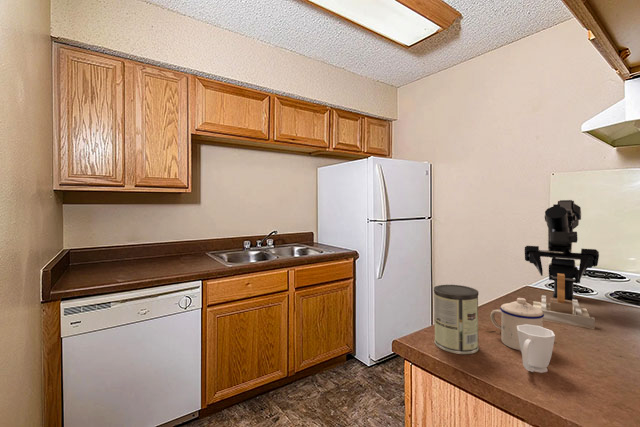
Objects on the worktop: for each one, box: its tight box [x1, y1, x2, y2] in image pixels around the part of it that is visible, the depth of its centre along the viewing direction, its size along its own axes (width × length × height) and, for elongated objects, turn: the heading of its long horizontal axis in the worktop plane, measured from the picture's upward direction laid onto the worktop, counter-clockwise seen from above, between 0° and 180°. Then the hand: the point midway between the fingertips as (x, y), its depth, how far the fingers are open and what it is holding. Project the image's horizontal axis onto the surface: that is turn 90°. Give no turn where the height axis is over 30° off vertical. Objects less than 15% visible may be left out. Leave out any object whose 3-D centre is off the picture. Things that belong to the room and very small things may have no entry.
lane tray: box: [532, 295, 596, 330], centre depth 94 cm, size 20×14×4 cm
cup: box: [517, 324, 556, 374], centre depth 64 cm, size 7×10×8 cm
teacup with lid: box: [489, 297, 544, 352], centre depth 77 cm, size 12×9×12 cm
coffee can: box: [433, 284, 480, 355], centre depth 76 cm, size 10×10×14 cm
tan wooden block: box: [549, 273, 573, 314], centre depth 89 cm, size 5×5×13 cm
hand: (560, 276), depth 94 cm, fingers open, 9 cm apart
